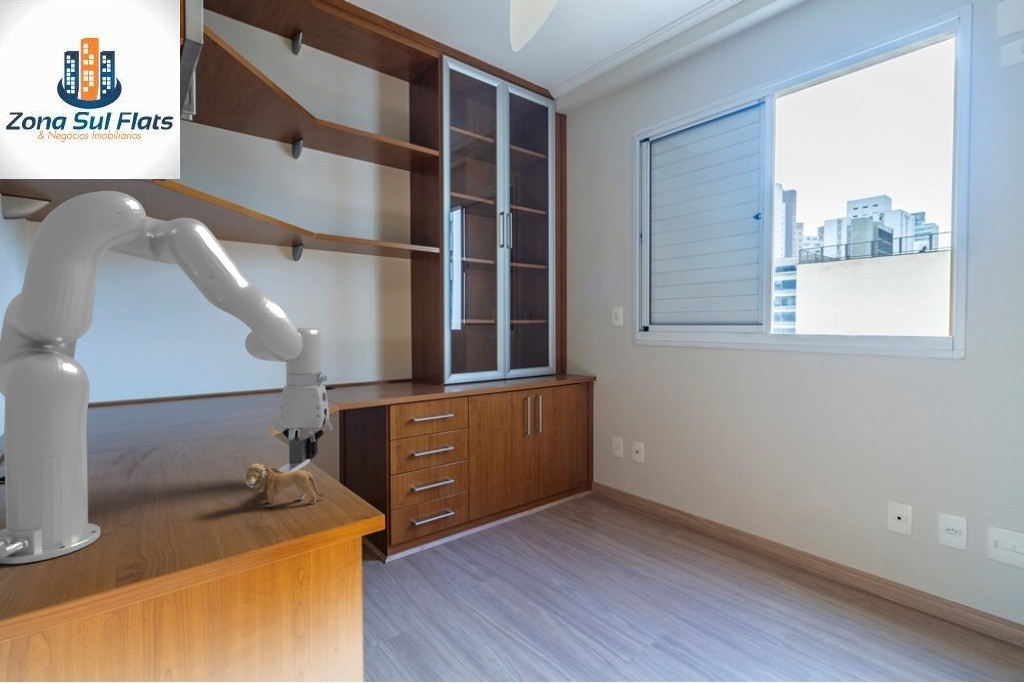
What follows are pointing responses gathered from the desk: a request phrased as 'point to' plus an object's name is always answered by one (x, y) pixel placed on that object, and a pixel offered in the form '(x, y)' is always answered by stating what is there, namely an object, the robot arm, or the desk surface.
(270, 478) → the lion figurine
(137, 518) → the desk surface
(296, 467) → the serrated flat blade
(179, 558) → the desk surface
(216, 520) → the desk surface
